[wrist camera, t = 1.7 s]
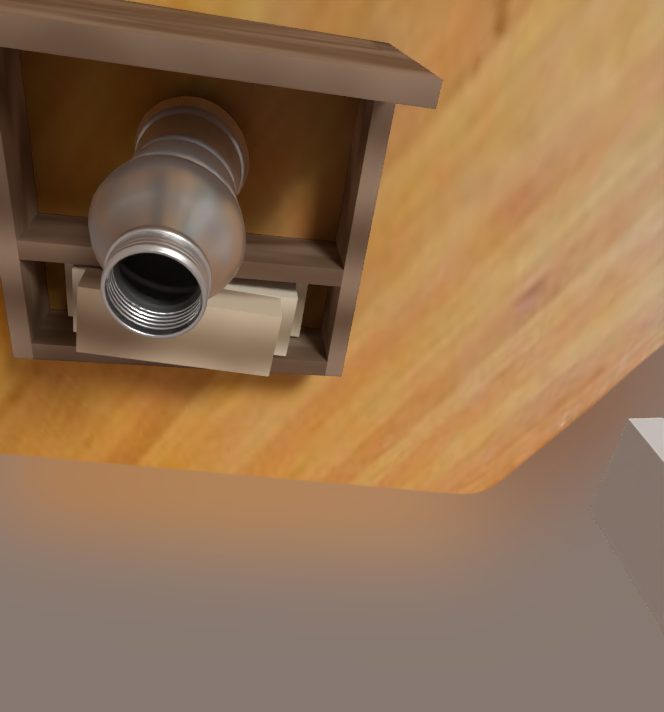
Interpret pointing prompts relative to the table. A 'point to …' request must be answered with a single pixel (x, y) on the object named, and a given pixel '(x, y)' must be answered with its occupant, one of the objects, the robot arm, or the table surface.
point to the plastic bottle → (171, 218)
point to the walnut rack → (213, 59)
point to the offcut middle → (260, 287)
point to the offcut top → (196, 347)
